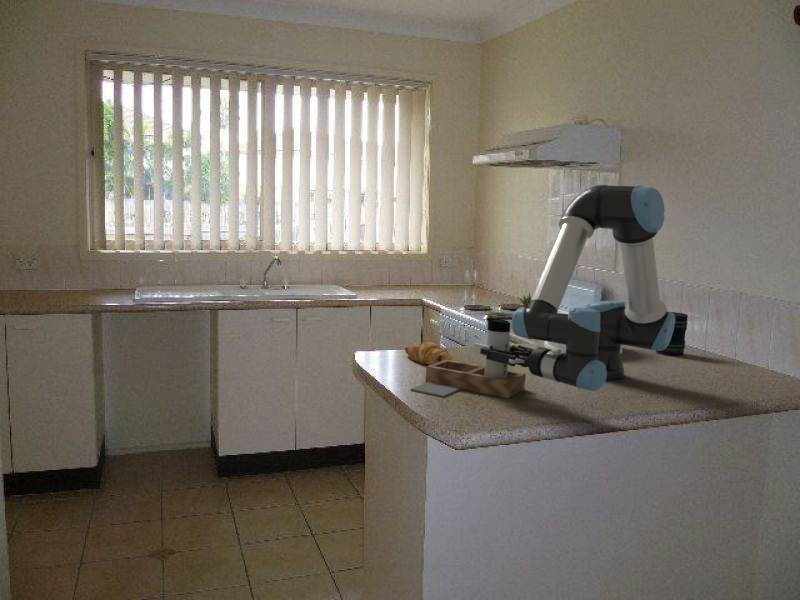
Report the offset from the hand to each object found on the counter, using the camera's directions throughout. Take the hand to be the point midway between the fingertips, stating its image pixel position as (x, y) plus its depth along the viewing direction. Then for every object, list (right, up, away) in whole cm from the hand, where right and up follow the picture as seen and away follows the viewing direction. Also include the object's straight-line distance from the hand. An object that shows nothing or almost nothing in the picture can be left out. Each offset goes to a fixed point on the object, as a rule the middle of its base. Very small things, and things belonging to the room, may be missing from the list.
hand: (483, 346), depth 197 cm
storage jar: (+76, -7, +62) cm, 98 cm away
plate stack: (+44, -5, +64) cm, 78 cm away
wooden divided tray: (-3, -11, +1) cm, 11 cm away
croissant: (-14, -7, +27) cm, 31 cm away
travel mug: (+3, -12, -2) cm, 12 cm away
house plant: (+30, 0, +94) cm, 98 cm away
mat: (-14, -11, -7) cm, 19 cm away
